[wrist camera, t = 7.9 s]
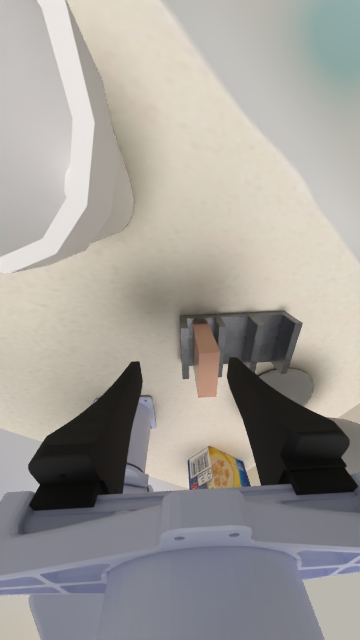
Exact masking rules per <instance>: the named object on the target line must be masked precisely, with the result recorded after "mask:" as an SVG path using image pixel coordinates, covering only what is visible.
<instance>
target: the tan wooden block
mask: <svg viewBox="0 0 360 640" xmlns="http://www.w3.org/2000/svg"><path fill="white" fill-rule="evenodd" d="M219 360H220V351H219V348H218V346H217V343H216V341H215V338H214V336H213V334H212V331H211V329H210V326H209V324H193V367H194V374H195V380H196V387H197V393H198V398H199V397H216V394H217V382H218V371H219Z"/></svg>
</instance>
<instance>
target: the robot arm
mask: <svg viewBox="0 0 360 640" xmlns="http://www.w3.org/2000/svg"><path fill="white" fill-rule="evenodd" d="M227 379H228V383H229V386H230V389H231V392H232V394H233V397H234V399H235V402H236V404H237V407H238V409H239V411H240V414H241V416H242V419H243V422H244V425H245V428H246V431H247V435H248V438H249V441H250V445H251V448H252V452H253V456H254V459H255V463H256V467H257V471H258V475H259V479H260V483H261V486H248V487H231V488H213V489H196V490H179V491H163V492H154V491H153V488H152V486H151V485H148V477H149V475H148V474H145V467H146V459H147V451H148V443H149V435H150V429H152V428H156V421H155V414H154V408H153V401H152V397H149V396H148V397H140V395H141V389H142V382H143V380H142V374H141V368H140V362H139V361H137V362H131V363H130V364H129V366H128V367H127V368H126V369H125V371H124V372H123V373H122V374H121V376H120V377H119V378H118V379H117V380H116V382H115V383H114V384H113V385H112V386H111V387H110V388H109V389H108V390H107V391H106V392H105V393H104V394H103V395H102V396H101V397H100V398H99V399H96V400H95V401H94V404H92V405H91V406H90V407H89V408H87V409H86V410H85V411H84V412H82V413H81V414H80V415H78V416H77V417H76V418H74V419H73V420H71V421H70V422H69V423H67V424H66V425H64V426H62V427H61V428H59V429H58V430H56V431H55V432H53V433H51V434H50V435H48V436H47V437H46V438H45V440H44V441H43V443H42V444H41V446H40V448H39V449H38V450H37V452H36V454H35V455H34V457H33V458H32V460H31V461H30V463H29V465H28V469H29V471H30V473H31V475H32V476H33V477H34V478H35V479H36V481H37V482H38V483H39V484H40V486H39V488H38V489H37V491H36V493H34V492H31V491H24V492H23V491H21V492H8V493H6V494H5V495H4V496H3V498H2V500H1V501H0V596H1V595H27V594H28V595H30V596H29V605H30V609H31V612H32V615H33V618H34V620H35V624H36V626H37V629H38V632H39V635H40V638H41V640H324V637H323V634H322V631H321V629H320V626H319V624H318V621H317V618H316V616H315V613H314V610H313V608H312V605H311V602H310V600H309V597H308V594H307V592H306V589H305V586H304V584H303V581H302V580H308V579H315V578H323V577H330V576H338V575H344V574H353V573H360V472H357V473H353V474H351V475H350V474H349V473H348V472H347V470H346V469H345V468H346V467H347V465H346V463H345V462H344V461H343V459H342V458H341V457H342V456H343V454H344V453H345V452H346V450H347V449H348V447H349V445H350V439H349V438H348V436H347V435H346V434H345V433H344V432H343V431H342V430H341V428H340V427H339V426H338V425H337V424H336V423H335V422H334V421H332V420H330V419H328V418H326V417H324V416H322V415H319V414H317V413H315V412H313V411H311V410H309V409H307V408H305V407H303V406H301V405H300V404H298V403H296V402H294V401H293V400H291V399H289V398H288V397H286V396H284V395H283V394H281V393H280V392H278V391H277V390H275V389H274V388H272V387H271V386H270V385H268V384H267V383H266V382H264V381H263V380H262V379H261V378H259V377H258V376H257V375H256V374H255V373H254V372H252V371H251V370H250V369H249V368H248V367H247V366H246V365H245V364H244V363H243V362H242V361H241V360H239V359H238V358H237V357H229V364H228V372H227ZM145 399H146V400H145Z"/></svg>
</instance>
